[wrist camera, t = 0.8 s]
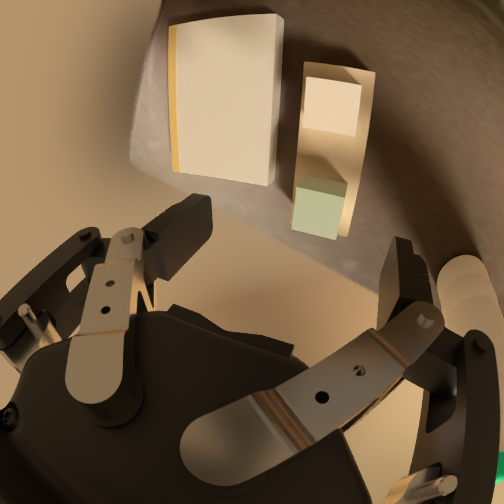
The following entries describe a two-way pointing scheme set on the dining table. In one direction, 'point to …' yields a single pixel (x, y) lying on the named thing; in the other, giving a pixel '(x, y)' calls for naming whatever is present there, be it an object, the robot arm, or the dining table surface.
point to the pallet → (335, 140)
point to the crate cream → (331, 106)
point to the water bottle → (474, 316)
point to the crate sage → (319, 206)
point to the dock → (226, 96)
